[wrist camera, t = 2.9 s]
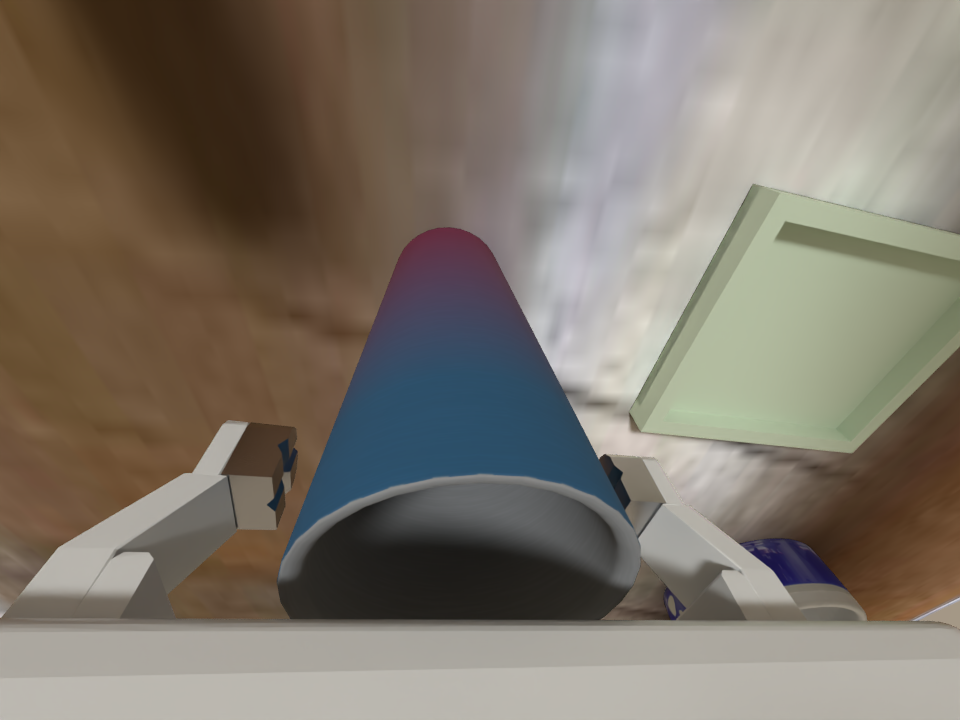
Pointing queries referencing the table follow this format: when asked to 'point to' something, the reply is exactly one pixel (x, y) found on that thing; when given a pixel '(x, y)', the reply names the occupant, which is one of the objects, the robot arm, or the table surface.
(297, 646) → the robot arm
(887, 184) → the table surface
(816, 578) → the dog bowl
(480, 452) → the cup
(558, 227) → the table surface
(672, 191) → the table surface
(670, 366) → the tray
